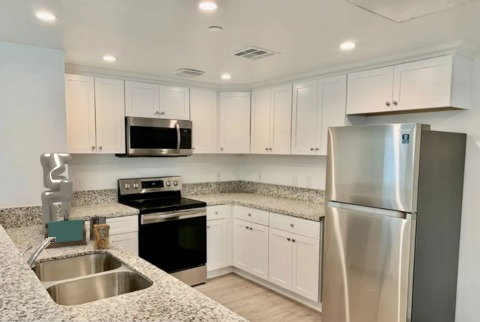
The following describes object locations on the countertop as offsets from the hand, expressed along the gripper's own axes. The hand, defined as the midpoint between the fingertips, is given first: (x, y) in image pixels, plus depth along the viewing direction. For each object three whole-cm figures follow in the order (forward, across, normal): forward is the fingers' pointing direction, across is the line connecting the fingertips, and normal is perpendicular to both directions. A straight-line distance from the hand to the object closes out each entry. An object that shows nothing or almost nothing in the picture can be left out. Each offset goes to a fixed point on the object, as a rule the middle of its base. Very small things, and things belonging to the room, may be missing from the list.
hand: (65, 227), depth 220 cm
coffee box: (+12, -6, +20) cm, 24 cm away
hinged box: (+12, -5, 0) cm, 13 cm away
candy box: (+12, +16, +20) cm, 28 cm away
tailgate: (+9, +3, 0) cm, 10 cm away
